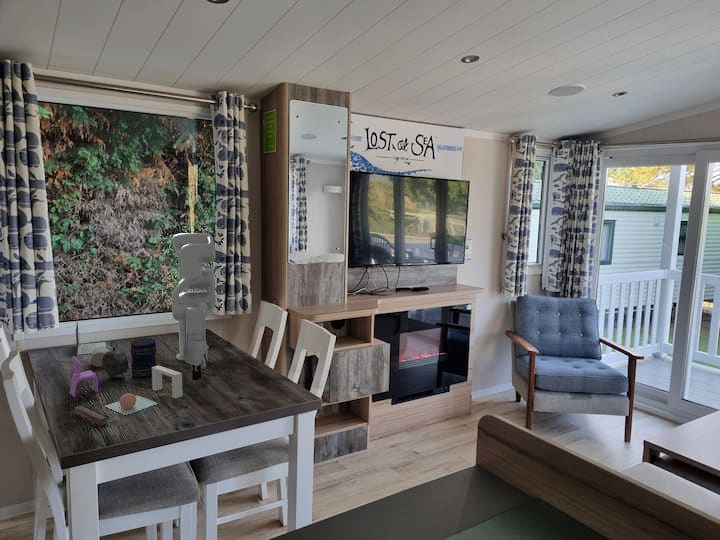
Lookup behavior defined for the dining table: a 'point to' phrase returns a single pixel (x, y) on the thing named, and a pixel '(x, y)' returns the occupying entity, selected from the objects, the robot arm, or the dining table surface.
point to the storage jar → (143, 358)
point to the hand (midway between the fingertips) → (196, 379)
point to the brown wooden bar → (90, 415)
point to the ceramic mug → (98, 356)
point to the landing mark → (140, 404)
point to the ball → (127, 401)
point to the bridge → (175, 375)
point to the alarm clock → (115, 362)
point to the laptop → (86, 345)
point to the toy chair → (81, 377)
